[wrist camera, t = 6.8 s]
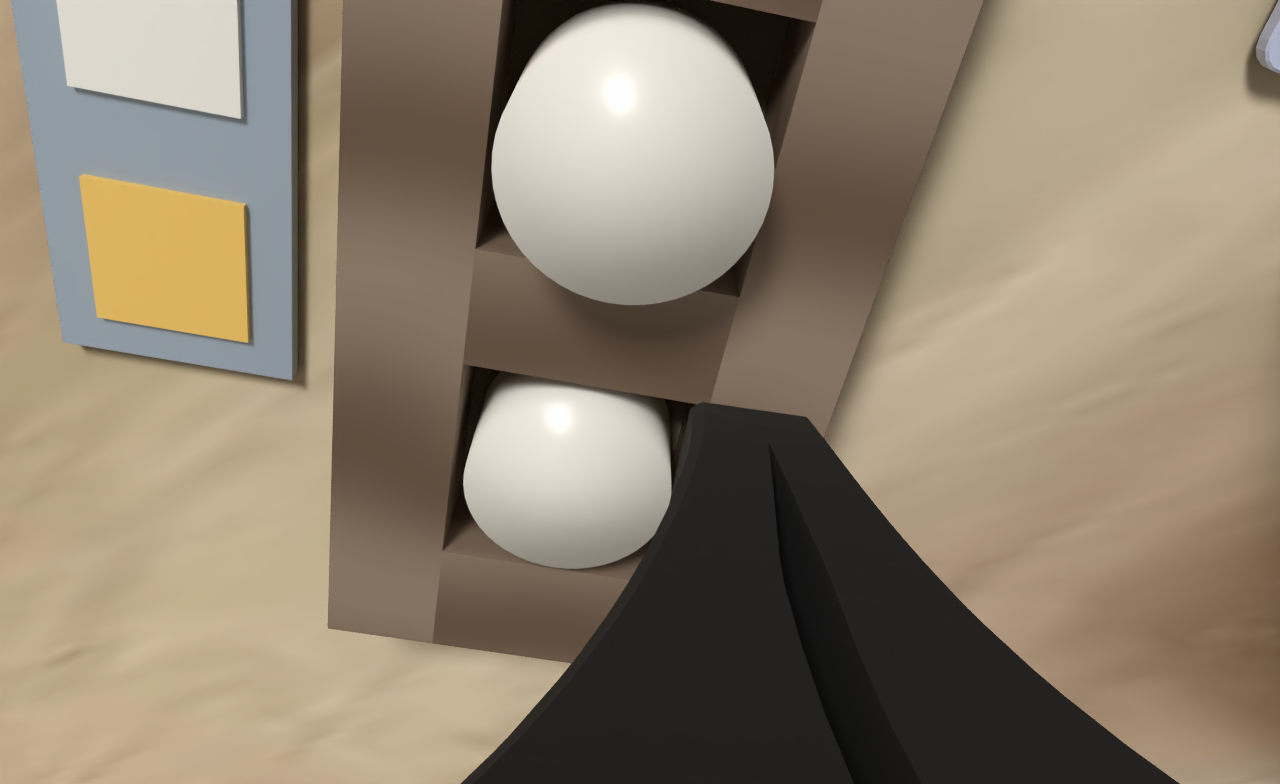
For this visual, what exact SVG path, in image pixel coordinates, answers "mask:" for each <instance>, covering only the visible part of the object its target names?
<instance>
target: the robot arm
mask: <svg viewBox="0 0 1280 784" xmlns="http://www.w3.org/2000/svg"><path fill="white" fill-rule="evenodd" d="M1256 56H1257V59H1258V61H1259V62H1260V64H1261V66H1263V67H1265V68H1267V69H1269V70H1272V71H1274V72H1276V73H1279V74H1280V0H1279V1H1278V2H1277V4H1276V6H1275V8H1274V10H1273V12H1272V14H1271V16H1270V18H1269V20H1268V22H1267V24H1266V25H1265V27H1264V29H1263V31H1262V33H1261V35H1260V37H1259V40H1258V43H1257V46H1256ZM461 784H1179V783H1178V782H1176V781H1175V780H1174V779H1172V778H1171V777H1169V776H1168V775H1167V774H1165V773H1164V772H1163V771H1161V770H1160V769H1158V768H1157V767H1156V766H1154V765H1153V764H1152V763H1150V762H1149V761H1148V760H1146V759H1145V758H1143V757H1142V756H1141V755H1139V754H1138V753H1137V752H1135V751H1134V750H1132V749H1131V748H1130V747H1128V746H1127V745H1126V744H1124V743H1123V742H1122V741H1121V740H1119V739H1118V738H1117V737H1116V736H1114V735H1113V734H1112V733H1110V732H1109V731H1108V730H1107V729H1105V728H1104V727H1103V726H1102V725H1100V724H1099V723H1098V722H1097V721H1095V720H1094V719H1093V718H1091V717H1090V716H1089V715H1088V714H1086V713H1085V712H1084V711H1083V710H1081V709H1080V708H1079V707H1078V706H1076V705H1075V704H1074V703H1073V702H1071V701H1070V700H1069V699H1067V698H1066V697H1065V696H1064V695H1063V694H1061V693H1060V692H1059V691H1058V690H1057V689H1055V688H1054V687H1053V686H1052V685H1051V684H1050V683H1048V682H1047V681H1046V680H1045V679H1044V678H1042V677H1041V676H1040V675H1039V674H1038V673H1037V672H1035V671H1034V670H1033V669H1032V668H1031V667H1030V666H1029V665H1028V664H1027V663H1025V662H1024V661H1023V660H1022V659H1021V658H1020V657H1019V656H1018V655H1017V654H1016V653H1015V652H1013V651H1012V650H1011V649H1010V648H1009V647H1008V646H1007V645H1006V644H1005V643H1004V642H1003V641H1002V640H1000V639H999V638H998V637H997V636H996V635H995V634H994V633H993V632H992V631H991V630H990V629H988V628H987V627H986V626H985V625H984V624H983V623H982V622H981V621H980V620H979V619H978V618H977V617H976V616H975V615H974V614H973V613H972V612H971V611H970V610H969V609H968V608H967V607H966V606H965V605H964V604H963V603H962V602H961V601H960V600H959V599H958V598H957V597H956V596H955V595H954V594H953V593H952V592H951V591H950V589H949V588H948V587H947V586H946V585H945V584H944V583H943V582H942V581H941V580H940V579H939V578H938V577H937V576H936V574H935V573H934V572H933V571H932V570H931V569H930V568H929V567H928V566H927V565H926V564H925V563H924V562H923V561H922V559H921V558H920V557H919V556H918V555H917V554H916V553H915V551H914V550H913V549H912V548H911V547H910V546H909V545H908V543H907V542H906V541H905V540H904V539H903V538H902V537H901V535H900V534H899V533H898V532H897V531H896V529H895V528H894V527H893V526H892V525H891V524H890V522H889V521H888V520H887V519H886V517H885V516H884V515H883V514H882V513H881V511H880V510H879V509H878V508H877V506H876V505H875V504H874V503H873V501H872V500H871V499H870V498H869V496H868V495H867V494H866V493H865V491H864V490H863V489H862V488H861V486H860V485H859V484H858V482H857V481H856V480H855V479H854V477H853V476H852V475H851V473H850V472H849V471H848V470H847V468H846V467H845V466H844V464H843V463H842V462H841V460H840V459H839V458H838V457H837V455H836V454H835V453H834V451H833V450H832V449H831V447H830V446H829V445H828V443H827V442H826V441H825V439H824V438H823V437H822V435H821V434H820V433H819V432H818V430H817V429H816V428H815V426H814V425H813V424H812V423H811V422H810V420H809V419H808V418H807V417H804V416H797V415H790V414H783V413H776V412H769V411H762V410H755V409H748V408H741V407H734V406H727V405H720V404H713V403H706V402H701V403H699V404H698V405H696V406H694V407H693V408H691V409H690V412H689V417H688V421H687V426H686V430H685V435H684V439H683V444H682V448H681V453H680V457H679V462H678V466H677V471H676V475H675V480H674V485H673V489H672V494H671V498H670V503H669V506H668V508H667V510H666V513H665V515H664V517H663V519H662V521H661V523H660V525H659V527H658V529H657V531H656V533H655V535H654V537H653V539H652V541H651V543H650V545H649V547H648V549H647V551H646V553H645V554H644V556H643V558H642V560H641V562H640V563H639V565H638V567H637V568H636V570H635V572H634V574H633V575H632V577H631V579H630V580H629V582H628V584H627V585H626V587H625V588H624V590H623V592H622V593H621V595H620V596H619V598H618V599H617V601H616V602H615V604H614V606H613V607H612V609H611V610H610V612H609V613H608V615H607V616H606V617H605V619H604V620H603V622H602V623H601V624H600V626H599V627H598V628H597V630H596V631H595V633H594V634H593V635H592V637H591V638H590V640H589V641H588V642H587V644H586V645H585V646H584V648H583V649H582V651H581V652H580V653H579V655H578V656H577V657H576V658H575V660H574V661H573V662H572V664H571V665H570V666H569V667H568V669H567V670H566V671H565V672H564V674H563V675H562V676H561V677H560V679H559V680H558V681H557V682H556V683H555V684H554V686H553V687H552V688H551V689H550V690H549V691H548V692H547V693H546V695H545V696H544V697H543V698H542V699H541V700H540V701H539V703H538V704H537V705H536V706H535V707H534V708H533V709H532V711H531V712H530V713H529V714H528V715H527V716H526V717H525V719H524V720H523V721H522V722H521V723H520V724H519V725H518V727H517V728H516V729H515V730H514V731H513V732H512V733H511V734H510V735H509V737H508V738H507V739H506V740H505V741H504V742H503V743H502V744H501V745H500V746H499V747H498V748H497V749H496V750H495V751H494V752H493V753H492V754H491V755H490V756H489V757H488V758H487V759H486V760H485V761H484V762H483V763H482V764H481V765H480V766H479V767H478V768H477V769H475V770H474V771H473V772H472V773H471V774H470V775H469V776H468V777H467V778H466V779H465V780H464V781H463V782H462V783H461Z"/></svg>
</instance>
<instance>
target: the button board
mask: <svg viewBox="0 0 1280 784" xmlns="http://www.w3.org/2000/svg"><path fill="white" fill-rule="evenodd" d="M712 1H716V2H721V3H726V4H731V5H735V6H740V7H745V8H749V9H754V10H759V11H764V12H768V13H773V14H778V15H782V16H787V17H791V18H790V21H789V25H788V29H787V33H786V36H785V40H784V44H783V48H782V52H781V55H780V59H779V63H778V67H777V70H776V74H775V78H774V82H773V85H772V89H771V93H770V97H769V101H768V104H767V108H766V112H765V116H764V119H765V122H766V125H767V128H768V131H769V133H770V138H771V143H772V148H773V156H774V181H773V190H772V195H771V200H770V204H769V208H768V210H767V213H766V216H765V219H764V222H763V224H762V226H761V228H760V229H759V231H758V233H757V235H756V237H755V239H754V240H753V242H752V243H751V245H750V246H749V248H748V249H747V250H746V252H745V253H744V254H743V255H742V256H741V257H740V259H739V260H738V261H737V262H736V263H735V264H734V265H733V266H732V267H731V268H730V269H729V270H727V271H726V272H725V273H724V274H723V275H722V276H720V277H719V278H717V279H716V280H714V281H713V282H711V283H710V284H708V285H707V286H705V287H703V288H701V289H699V290H697V291H695V292H693V293H691V294H688V295H686V296H683V297H680V298H678V299H674V300H670V301H666V302H662V303H656V304H647V305H621V304H612V303H606V302H602V301H598V300H594V299H590V298H588V297H585V296H582V295H579V294H577V293H574V292H572V291H571V290H569V289H567V288H565V287H563V286H561V285H559V284H558V283H556V282H555V281H553V280H552V279H550V278H549V277H547V276H546V275H545V274H543V273H542V272H541V271H540V270H539V269H538V268H537V267H535V266H534V265H533V264H532V263H531V262H530V261H529V259H528V258H527V257H526V256H525V255H524V254H523V253H522V252H521V250H520V249H519V248H518V246H517V245H516V243H515V242H514V240H513V239H512V238H511V236H510V234H509V232H508V230H507V228H506V226H505V224H504V222H503V220H502V217H501V215H500V212H499V209H498V206H497V203H496V201H495V194H494V190H493V182H492V171H491V168H492V150H493V145H494V140H495V134H496V131H497V128H498V125H499V122H500V119H501V116H502V114H503V112H504V110H505V108H506V100H507V92H508V83H509V75H510V66H511V58H512V49H513V41H514V32H515V24H516V15H517V7H518V0H343V29H342V70H341V111H340V152H339V193H338V234H337V274H336V315H335V356H334V397H333V438H332V479H331V519H330V560H329V601H328V628H329V629H336V630H343V631H350V632H357V633H364V634H371V635H378V636H385V637H392V638H399V639H406V640H413V641H420V642H427V643H434V644H441V645H448V646H455V647H462V648H469V649H476V650H483V651H490V652H497V653H504V654H511V655H518V656H525V657H532V658H539V659H546V660H553V661H560V662H567V663H572V662H573V661H574V660H575V658H576V657H577V656H578V655H579V653H580V652H581V651H582V649H583V648H584V646H585V645H586V644H587V642H588V641H589V640H590V638H591V637H592V635H593V634H594V633H595V631H596V630H597V628H598V627H599V626H600V624H601V623H602V622H603V620H604V619H605V617H606V616H607V615H608V613H609V612H610V610H611V609H612V607H613V606H614V604H615V602H616V601H617V599H618V598H619V596H620V595H621V593H622V592H623V590H624V588H625V587H626V585H627V584H628V582H629V580H630V579H631V577H632V575H633V574H634V572H635V570H636V568H637V567H638V565H639V563H640V562H641V560H642V558H643V556H644V554H645V553H646V551H647V549H648V547H649V545H650V543H651V541H652V539H653V537H654V536H653V537H652V538H651V539H650V540H649V541H648V542H647V543H646V544H645V545H643V546H642V547H641V548H639V549H638V550H637V551H635V552H633V553H631V554H630V555H628V556H626V557H624V558H622V559H619V560H617V561H615V562H611V563H608V564H605V565H601V566H596V567H590V568H579V569H565V568H555V567H549V566H544V565H540V564H536V563H533V562H530V561H527V560H525V559H522V558H520V557H517V556H515V555H514V554H512V553H510V552H508V551H506V550H505V549H503V548H502V547H500V546H499V545H498V544H496V543H495V542H494V541H493V540H492V539H490V538H489V537H488V536H487V535H486V534H485V533H484V532H483V530H482V529H481V528H480V527H479V526H478V524H477V523H476V521H475V520H474V518H473V516H472V514H471V512H470V510H469V508H468V505H467V502H466V499H465V495H464V487H463V484H462V483H461V482H462V474H463V465H464V457H465V448H466V440H467V431H468V423H469V414H470V406H471V397H472V389H473V380H474V372H475V366H476V367H482V368H488V369H494V370H500V371H506V372H511V373H517V374H523V375H529V376H535V377H541V378H547V379H552V380H558V381H564V382H570V383H576V384H582V385H588V386H593V387H599V388H605V389H611V390H617V391H623V392H628V393H634V394H640V395H646V396H652V397H658V398H664V399H669V400H675V401H681V402H687V403H688V406H687V410H686V413H685V417H684V421H683V425H682V429H681V432H680V436H679V440H678V444H677V447H676V451H675V455H674V459H673V462H672V466H671V494H672V489H673V485H674V480H675V475H676V471H677V466H678V462H679V457H680V453H681V448H682V444H683V439H684V435H685V430H686V426H687V421H688V417H689V412H690V409H691V408H693V407H694V406H696V405H698V404H699V403H701V402H706V403H713V404H720V405H727V406H734V407H741V408H748V409H755V410H762V411H769V412H776V413H783V414H790V415H797V416H804V417H807V418H808V419H809V420H810V422H811V423H812V424H813V425H814V426H815V428H816V429H817V430H818V432H819V433H820V434H821V435H822V437H823V438H824V436H825V433H826V430H827V428H828V425H829V422H830V419H831V417H832V414H833V411H834V409H835V406H836V403H837V400H838V398H839V395H840V392H841V389H842V387H843V384H844V381H845V378H846V376H847V373H848V370H849V368H850V365H851V362H852V359H853V357H854V354H855V351H856V348H857V346H858V343H859V340H860V337H861V335H862V332H863V329H864V327H865V324H866V321H867V318H868V316H869V313H870V310H871V307H872V305H873V302H874V299H875V296H876V294H877V291H878V288H879V286H880V283H881V280H882V277H883V275H884V272H885V269H886V266H887V264H888V261H889V258H890V255H891V253H892V250H893V247H894V245H895V242H896V239H897V236H898V234H899V231H900V228H901V225H902V223H903V220H904V217H905V214H906V212H907V209H908V206H909V204H910V201H911V198H912V195H913V193H914V190H915V187H916V184H917V182H918V179H919V176H920V173H921V171H922V168H923V165H924V163H925V160H926V157H927V154H928V152H929V149H930V146H931V143H932V141H933V138H934V135H935V132H936V130H937V127H938V124H939V122H940V119H941V116H942V113H943V111H944V108H945V105H946V102H947V100H948V97H949V94H950V91H951V89H952V86H953V83H954V81H955V78H956V75H957V72H958V70H959V67H960V64H961V61H962V59H963V56H964V53H965V50H966V48H967V45H968V42H969V40H970V37H971V34H972V31H973V29H974V26H975V23H976V20H977V18H978V15H979V12H980V9H981V7H982V4H983V1H984V0H712Z"/></svg>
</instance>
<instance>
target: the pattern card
mask: <svg viewBox="0 0 1280 784" xmlns="http://www.w3.org/2000/svg"><path fill="white" fill-rule="evenodd" d="M11 4H12V10H13V17H14V23H15V30H16V36H17V43H18V49H19V56H20V63H21V69H22V76H23V82H24V89H25V95H26V102H27V108H28V115H29V122H30V128H31V135H32V141H33V148H34V154H35V161H36V167H37V174H38V181H39V187H40V194H41V200H42V207H43V213H44V220H45V226H46V233H47V240H48V246H49V253H50V259H51V266H52V272H53V279H54V285H55V292H56V299H57V305H58V312H59V318H60V325H61V331H62V338H63V342H65V343H71V344H77V345H83V346H89V347H95V348H101V349H107V350H113V351H119V352H125V353H131V354H137V355H143V356H149V357H155V358H161V359H167V360H173V361H179V362H185V363H191V364H197V365H203V366H209V367H215V368H221V369H227V370H233V371H239V372H245V373H251V374H257V375H263V376H269V377H275V378H281V379H287V380H293V378H294V377H295V375H296V373H297V372H298V0H11Z"/></svg>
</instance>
